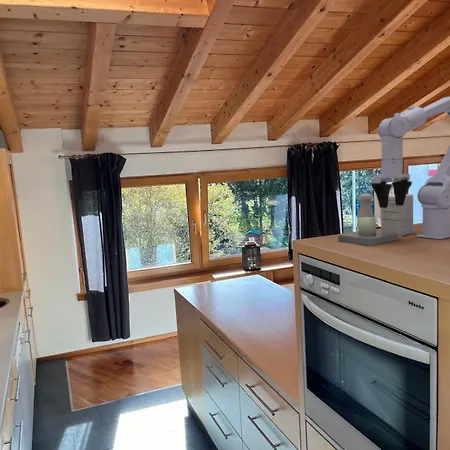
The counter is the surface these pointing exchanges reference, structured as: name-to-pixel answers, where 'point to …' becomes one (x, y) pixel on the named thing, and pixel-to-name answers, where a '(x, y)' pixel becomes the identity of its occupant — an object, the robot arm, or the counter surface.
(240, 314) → the counter surface
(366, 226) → the green cylinder
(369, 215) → the salt shaker
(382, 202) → the robot arm
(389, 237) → the slate base
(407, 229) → the supplement box
